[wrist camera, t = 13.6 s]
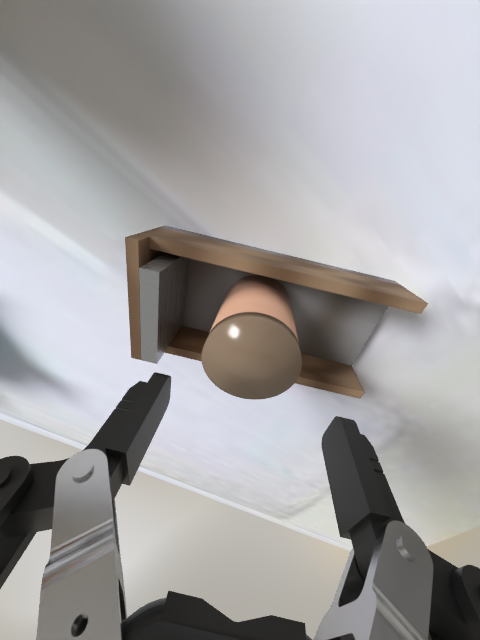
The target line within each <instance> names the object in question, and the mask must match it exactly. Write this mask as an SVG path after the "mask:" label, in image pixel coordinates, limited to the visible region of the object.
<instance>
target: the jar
mask: <svg viewBox="0 0 480 640" xmlns="http://www.w3.org/2000/svg"><path fill="white" fill-rule="evenodd" d="M202 364H203V368H204V370H205V373H206V374H207V376H208V377H209V379H210V380H211V381H212V382H213V383H214V384H215V385H216V386H217V387H219V388H220V389H221V390H223V391H225V392H227V393H229V394H231V395H233V396H236V397H240V398H245V399H265V398H270V397H274V396H277V395H279V394H281V393H283V392H285V391H286V390H287V389H289V388H290V387H291V386H292V385H293V384H294V383H295V382H296V380H297V379H298V377H299V375H300V372H301V368H302V357H301V352H300V347H299V342H298V337H297V332H296V327H295V322H294V318H293V313H292V308H291V303H290V298H289V295H288V293H287V291H286V289H285V288H284V287H283V286H282V285H281V284H280V283H279V282H278V281H276V280H275V279H273V278H270V277H266V276H261V275H250V276H246V277H243V278H241V279H239V280H238V281H236V282H235V283H234V284H233V285H232V286H231V287H230V288H229V290H228V292H227V294H226V296H225V298H224V301H223V303H222V305H221V308H220V310H219V312H218V314H217V317H216V319H215V321H214V324H213V326H212V328H211V331H210V333H209V335H208V337H207V340H206V342H205V344H204V347H203V350H202Z"/></svg>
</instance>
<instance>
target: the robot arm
mask: <svg viewBox="0 0 480 640" xmlns="http://www.w3.org/2000/svg"><path fill="white" fill-rule="evenodd" d="M170 389H171V376H168V375H164V374H160V373H154V374H153V375H152V377H151V378H150V380H149V381H148V383H146V382H142V381H140V382H138V383H137V384H135V385H134V386H132V387H131V388H130V389H129V390H128V391H127V393H126V394H125V396H124V397H123V398H122V401H120V402H119V404H118V405H117V407H116V409H114V411H113V412H112V414H111V415H110V416H109V418H108V419H107V420H106V422H105V423H104V425H103V426H102V427H101V429H100V430H99V432H98V433H97V434H96V436H95V437H94V438H93V440H92V441H91V442H90V444H89V445H88V446H87V447H86V448H85V449H84V450H82V451H81V452H78V453H76V454H75V455H73V456H72V457H71V458H68V459H65V460H61V461H55V462H46V463H37V464H29V462H28V461H27V460H26V459H25V458H23V457H20V456H10V457H5V458H2V459H0V589H1V587H2V586H3V584H4V582H5V581H6V579H7V578H8V576H9V574H10V573H11V571H12V570H13V568H14V567H15V565H16V563H17V562H18V561H19V559H20V557H21V556H22V554H23V553H24V551H25V550H26V548H27V546H28V545H29V543H30V542H31V540H32V539H33V537H34V535H35V534H36V532H38V531H43V530H49V529H52V539H51V551H50V558H49V562H48V564H47V565H46V567H45V570H44V573H43V578H42V584H41V594H40V605H39V617H38V627H37V638H36V640H312V639H311V638H310V637H309V636H307V635H306V631H305V623H302V622H298V621H293V620H289V619H285V618H281V617H277V616H272V615H270V616H266V617H261V618H256V619H252V620H247V621H242V622H234V621H232V620H231V619H229V618H228V617H226V616H225V615H224V614H222V613H221V612H220V611H218V610H217V609H215V608H214V607H213V606H211V605H210V604H208V603H207V602H206V601H204V600H203V599H201V598H197V597H193V596H188V595H184V594H180V593H176V592H172V591H168V594H167V598H164V599H159V600H156V601H153V602H151V603H148V604H147V605H145V606H143V607H141V608H140V609H138V610H137V611H136V612H134V613H133V614H132V615H130V616H129V617H128V618H127V611H126V601H125V591H124V583H123V572H122V565H121V558H120V548H119V537H118V529H117V528H118V527H117V517H116V507H115V496H116V494H117V492H118V490H119V489H120V487H121V484H126V485H130V484H131V482H132V480H133V478H134V476H135V474H136V471H137V470H138V468H139V465H140V463H141V461H142V459H143V457H144V455H145V453H146V451H147V449H148V447H149V445H150V443H151V440H152V438H153V436H154V434H155V432H156V430H157V428H158V426H159V424H160V422H161V420H162V418H163V416H164V413H165V411H166V409H167V407H168V404H169V400H170ZM322 450H323V455H324V460H325V465H326V470H327V475H328V480H329V484H330V489H331V494H332V499H333V504H334V509H335V514H336V519H337V523H338V528H339V533H340V537H343V538H347V539H351V540H352V544H353V549H352V550H351V552H350V554H349V557H348V560H347V563H346V566H345V569H344V571H343V575H342V577H341V580H340V583H339V586H338V589H337V591H336V594H335V597H334V600H333V602H332V605H331V607H330V609H329V610H328V611H327V613H326V614H325V615H324V617H323V619H322V621H321V623H320V625H319V627H318V630H317V632H316V635H315V637H314V640H480V569H479V568H477V567H475V566H472V565H466V566H463V567H461V568H457V567H456V566H454V565H452V564H451V563H449V562H447V561H446V560H444V559H442V558H441V557H439V556H438V555H436V554H434V553H433V552H431V551H429V550H428V549H427V547H426V545H425V544H424V542H423V541H422V540H421V538H420V537H419V536H418V535H417V533H416V532H415V531H414V530H413V529H411V528H410V527H409V526H408V525H406V524H405V522H404V520H403V518H402V516H401V514H400V511H399V509H398V506H397V504H396V501H395V499H394V497H393V494H392V492H391V489H390V487H389V484H388V482H387V479H386V477H385V475H384V474H383V470H382V467H381V465H380V463H379V462H378V461H379V460H378V457H377V455H376V453H375V450H374V448H373V446H372V445H371V443H370V442H369V441H368V439H367V438H366V437H365V435H362V434H360V432H359V429H358V427H357V424H356V422H355V421H354V420H351V419H347V418H342V417H338V416H336V417H335V418H334V419H333V421H332V422H331V424H330V425H329V427H328V428H327V430H326V431H325V433H324V434H323V437H322Z"/></svg>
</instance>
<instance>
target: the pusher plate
mask: <svg viewBox="0 0 480 640" xmlns="http://www.w3.org/2000/svg"><path fill="white" fill-rule="evenodd" d="M188 267H189V258H186V257H182V256H178V255H174V254H170V253H164V254H163V255H161V256H159V257H157V258H156V259H154V260H152V261H150V262H148V263H147V264H145V265H143V266H141V267H140V268H139V283H140V326H141V360H143V361H147V362H152V363H156V364H157V363H158V361H159V360H160V358H161V357H162V355H163V354H164V352H165V351H166V349H167V348H168V346H169V345H170V343H171V342H172V340H173V338H174V337H175V335H176V334H177V332H178V331H179V329H180V328H181V326H182V325H183V321H184V310H185V300H186V289H187V278H188Z"/></svg>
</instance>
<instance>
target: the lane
mask: <svg viewBox="0 0 480 640" xmlns="http://www.w3.org/2000/svg"><path fill="white" fill-rule="evenodd" d="M125 243H126V262H127V281H128V301H129V320H130V339H131V358H135V359H140V360H141V326H140V283H139V268H140V267H141V266H143V265H145V264H147V263H148V262H150V261H152V260H154V259H156V258H157V257H159V256H161V255H163V254H164V253H170V254H174V255H178V256H182V257H186V258H189V267H188V278H187V289H186V300H185V310H184V321H183V325H182V326H181V328H180V329H179V331H178V332H177V334H176V335H175V337H174V338H173V340H172V342H171V343H170V345H169V346H168V348H167V349H166V351H165V353H169V354H173V355H178V356H182V357H186V358H190V359H195V360H199V361H202V350H203V347H204V344H205V342H206V340H207V337H208V335H209V333H210V331H211V328H212V326H213V324H214V321H215V319H216V317H217V314H218V312H219V310H220V308H221V305H222V303H223V301H224V298H225V296H226V294H227V292H228V290H229V288H230V287H231V286H232V285H233V284H234V283H235V282H236V281H238V280H239V279H241V278H243V277H246V276H250V275H261V276H266V277H270V278H273V279H275V280H276V281H278V282H279V283H280V284H281V285H282V286H283V287H284V288H285V289H286V291H287V293H288V295H289V298H290V303H291V308H292V313H293V318H294V322H295V327H296V332H297V337H298V342H299V347H300V352H301V357H302V368H301V372H300V375H299V377H298V379H297V380H296V382H295V383H297V384H301V385H305V386H309V387H314V388H318V389H322V390H327V391H331V392H335V393H339V394H344V395H348V396H352V397H356V398H361V397H362V395H363V394H364V393H365V392H364V390H363V388H362V386H361V384H360V382H359V380H358V378H357V376H356V374H355V372H354V370H353V368H352V366H351V365H352V364H353V362H354V361H355V359H356V357H357V356H358V354H359V352H360V351H361V349H362V348H363V346H364V344H365V343H366V341H367V340H368V338H369V336H370V335H371V333H372V331H373V330H374V328H375V327H376V325H377V323H378V322H379V320H380V318H381V317H382V315H383V314H384V312H385V310H386V309H387V307H388V306H391V307H395V308H399V309H403V310H408V311H412V312H416V313H420V314H421V313H422V311H423V310H424V309H425V307H426V306H427V304H428V303H427V302H425V301H424V300H422V299H421V298H419V297H418V296H416V295H415V294H413V293H412V292H410V291H409V290H407V289H406V288H404V287H403V286H401V285H400V284H398V283H397V282H395V281H392V280H388V279H384V278H380V277H375V276H371V275H367V274H363V273H359V272H355V271H351V270H346V269H342V268H338V267H334V266H330V265H326V264H321V263H317V262H313V261H309V260H305V259H301V258H297V257H292V256H288V255H284V254H280V253H276V252H272V251H268V250H263V249H259V248H255V247H251V246H247V245H243V244H238V243H234V242H230V241H226V240H222V239H218V238H214V237H209V236H205V235H201V234H197V233H193V232H189V231H184V230H180V229H176V228H172V227H168V226H163V227H159V228H156V229H152V230H149V231H146V232H142V233H139V234H135V235H132V236H129V237H125Z"/></svg>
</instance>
